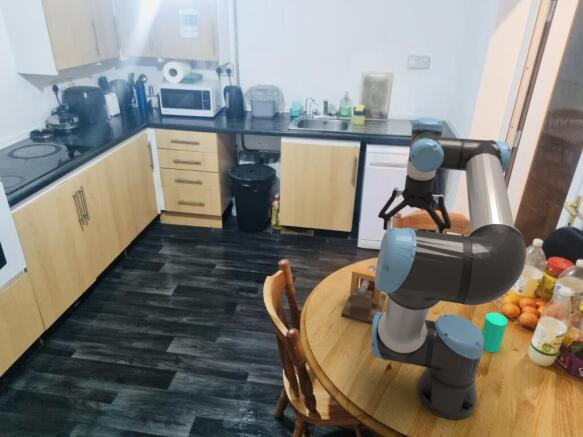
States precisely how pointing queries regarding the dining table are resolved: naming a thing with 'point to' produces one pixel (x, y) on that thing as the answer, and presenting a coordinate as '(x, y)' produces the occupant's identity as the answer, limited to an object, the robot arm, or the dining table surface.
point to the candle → (493, 331)
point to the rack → (363, 302)
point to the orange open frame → (365, 275)
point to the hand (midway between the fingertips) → (410, 243)
